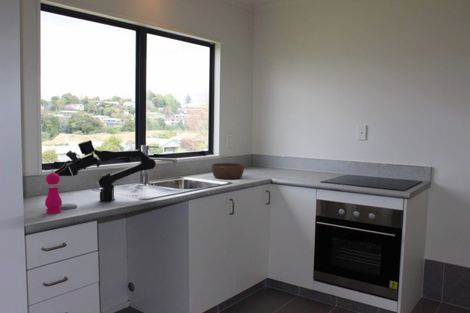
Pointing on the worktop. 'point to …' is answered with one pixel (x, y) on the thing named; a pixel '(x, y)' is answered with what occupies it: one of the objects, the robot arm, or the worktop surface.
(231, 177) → the wooden bowl
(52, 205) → the pepper mill
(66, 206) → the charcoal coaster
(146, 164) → the robot arm
